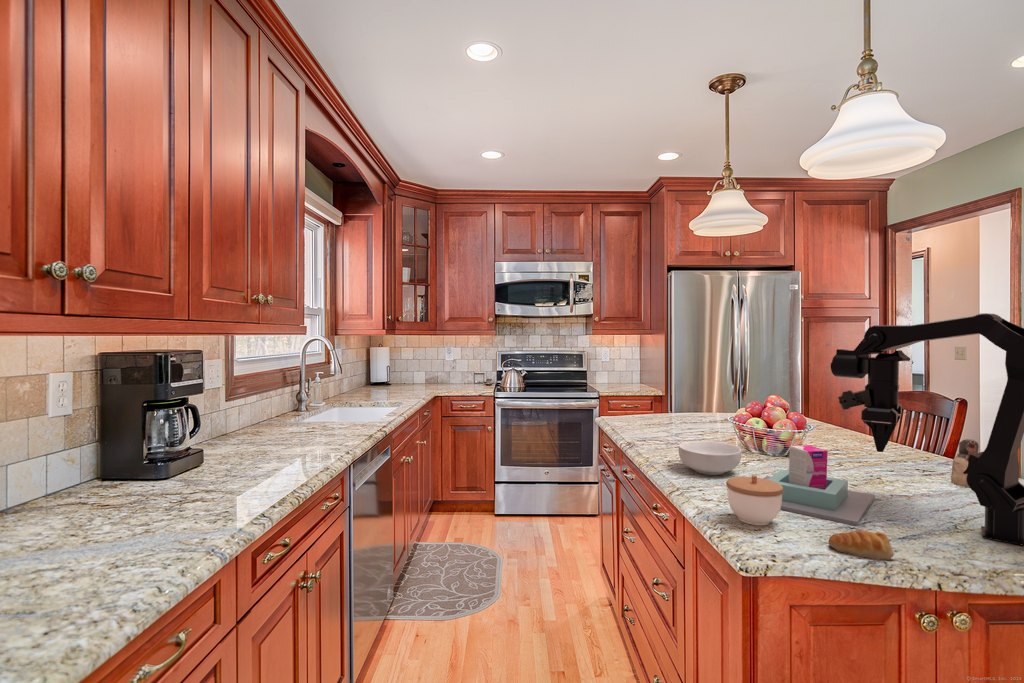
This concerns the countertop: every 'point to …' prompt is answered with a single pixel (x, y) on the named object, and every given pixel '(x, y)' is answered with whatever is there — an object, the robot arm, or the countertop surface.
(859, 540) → the pastry
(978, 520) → the countertop surface
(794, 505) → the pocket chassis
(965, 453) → the figurine
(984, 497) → the robot arm
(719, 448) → the cereal bowl
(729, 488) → the lidded jar
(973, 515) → the countertop surface
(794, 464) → the supplement box
